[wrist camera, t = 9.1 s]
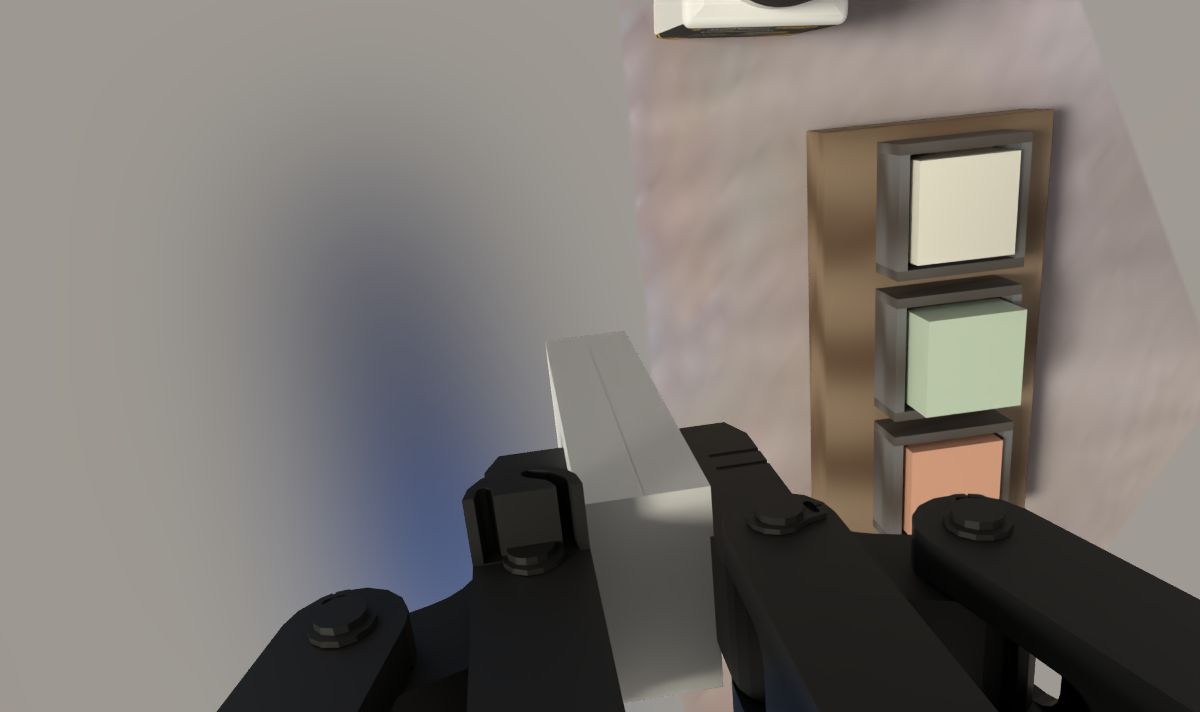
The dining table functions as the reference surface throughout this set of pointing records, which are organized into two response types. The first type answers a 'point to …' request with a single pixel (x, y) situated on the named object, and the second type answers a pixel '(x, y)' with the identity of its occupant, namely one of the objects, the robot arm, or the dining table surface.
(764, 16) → the medicine bottle
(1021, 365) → the sage button
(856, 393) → the button panel
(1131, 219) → the dining table surface
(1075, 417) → the dining table surface
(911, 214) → the cream button
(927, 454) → the terracotta button
